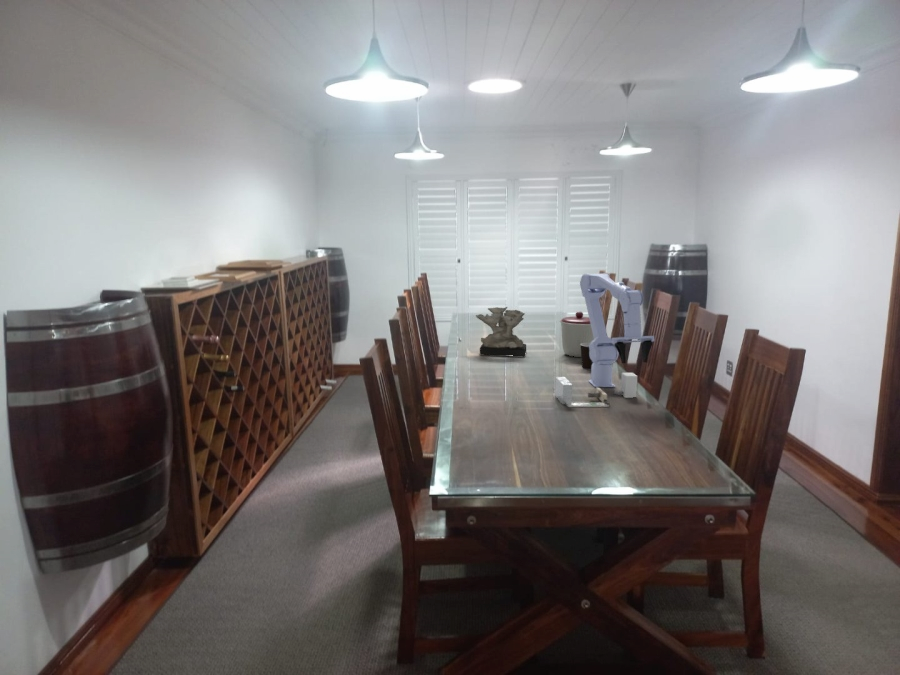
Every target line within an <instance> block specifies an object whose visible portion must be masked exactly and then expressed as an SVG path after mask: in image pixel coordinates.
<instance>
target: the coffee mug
mask: <svg viewBox="0 0 900 675" xmlns="http://www.w3.org/2000/svg"><path fill="white" fill-rule="evenodd" d="M589 345H590V343H582V344H580V346H581V357H580V360H581V368H583V369H587V370H591V366H592V364H593V362H592V360H591V359H590V356H589Z"/></svg>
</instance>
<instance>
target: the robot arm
mask: <svg viewBox="0 0 900 675" xmlns="http://www.w3.org/2000/svg"><path fill="white" fill-rule="evenodd" d="M579 284H580V285H579V286H580V290H581V294H582V295H581V296H582V297H583V298H584V300H585V301H584V302H585V305H586V309H587V314H588V317H589V319H590V323H591V328H592V332H593V337H594V340H593V341H592V342H591V343H590V345H589V356H590V359H591V360H592V362H593V364H592V366H591V369H590V370H591V371H590V379H588V380H587V381H588V383H590V384H591V385H592V386H593V387H594V388H616V385H615V384H614V383H613V371H614V370H613V365H614V364H615V362H616V361H617V360H618V357H619V358H620V361H621V364H626V361H627V360H626V343H640V342H641V343H640V346H641V350H642V351H641V352H642V362H643V363H647V362H648V357H649V354H650V351H651V349H652V346H653V345H654V344H653V342H655V335H643V336H642V324H641V323H642V320H641V319H642V317H641V306H642V304H644V294H643V292H642V291H641V289H635V290H633V289H632V287H630V286H628V285H625V283H624V282H623V281H619V282H615V281H614V280H613V279H612V278H610V275H609V274H607V273H605V272H604V273H583V274H582V276H581V278H580V281H579ZM606 291H609V292H610V295H611V296H612V297H613V298H615V299H616V300H618V301H619V305H620V306H621V311H622V312H623V329H624V331H623V333H624V336H618V337H612V338H611V337H609V336H608V332H607V328H606V325H605V319H604V315H603V311H602V306H601V302H600V298H602V297H603V296H604V294H605V293H606Z"/></svg>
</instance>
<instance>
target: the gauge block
mask: <svg viewBox="0 0 900 675" xmlns="http://www.w3.org/2000/svg"><path fill="white" fill-rule="evenodd" d="M620 377H621V378H620V379H621V380H620V381H621V382H620V390H616V391H615V390H614V391H613V393H614V395H620V396H622V395H623V398H625V399H626V398H627V399H629V398H632V399H633V397H636V398H637V386H638V384H637V383H638V375H636V374H635V373H634V372H621V376H620ZM621 394H622V395H621Z"/></svg>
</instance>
